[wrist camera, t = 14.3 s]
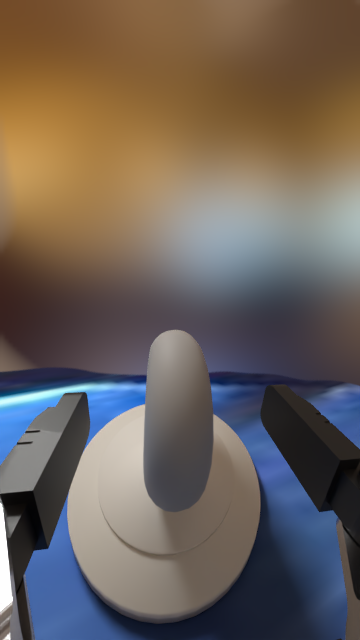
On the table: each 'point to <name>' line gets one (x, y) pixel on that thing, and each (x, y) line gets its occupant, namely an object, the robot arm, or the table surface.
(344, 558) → the robot arm
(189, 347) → the donut
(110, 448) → the plate
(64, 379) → the table surface
